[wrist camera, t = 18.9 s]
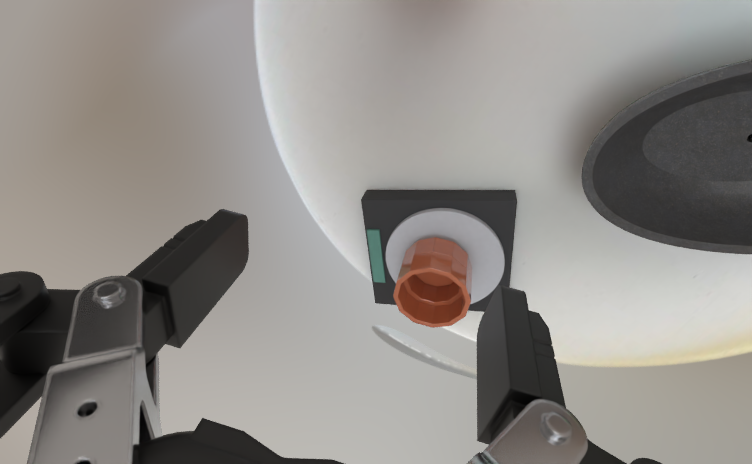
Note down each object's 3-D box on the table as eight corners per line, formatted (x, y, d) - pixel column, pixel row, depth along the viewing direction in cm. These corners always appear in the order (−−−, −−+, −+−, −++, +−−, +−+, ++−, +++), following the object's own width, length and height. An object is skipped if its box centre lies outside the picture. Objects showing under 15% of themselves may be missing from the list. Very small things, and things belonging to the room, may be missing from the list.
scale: (379, 291, 42) (373, 307, 40) (366, 189, 36) (359, 202, 33) (505, 299, 38) (507, 318, 36) (515, 190, 32) (517, 204, 30)
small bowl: (399, 279, 37) (388, 315, 33) (411, 227, 34) (401, 260, 29) (460, 296, 36) (458, 335, 32) (479, 244, 33) (479, 281, 29)
